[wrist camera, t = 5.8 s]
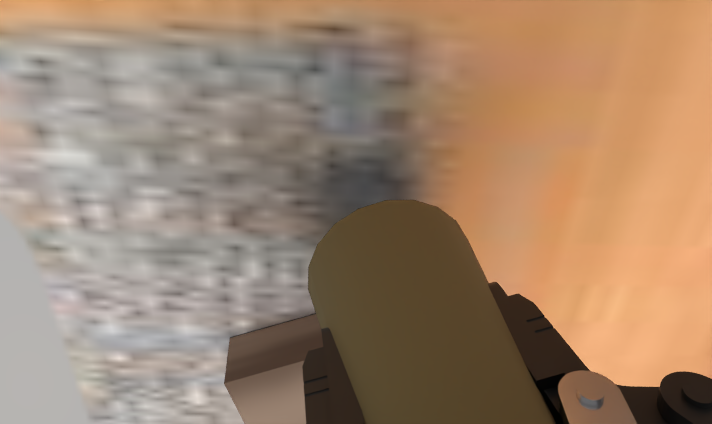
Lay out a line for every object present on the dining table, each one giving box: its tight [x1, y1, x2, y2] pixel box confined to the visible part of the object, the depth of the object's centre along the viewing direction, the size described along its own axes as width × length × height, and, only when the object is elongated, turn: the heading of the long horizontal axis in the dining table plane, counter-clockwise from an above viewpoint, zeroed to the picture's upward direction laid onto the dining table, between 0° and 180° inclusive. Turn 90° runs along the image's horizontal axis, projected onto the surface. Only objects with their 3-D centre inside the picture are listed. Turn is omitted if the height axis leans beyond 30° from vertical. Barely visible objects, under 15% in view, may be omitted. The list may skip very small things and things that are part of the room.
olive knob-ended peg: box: [308, 200, 556, 424], centre depth 11 cm, size 6×6×11 cm
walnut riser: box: [224, 314, 323, 424], centre depth 24 cm, size 12×12×3 cm
